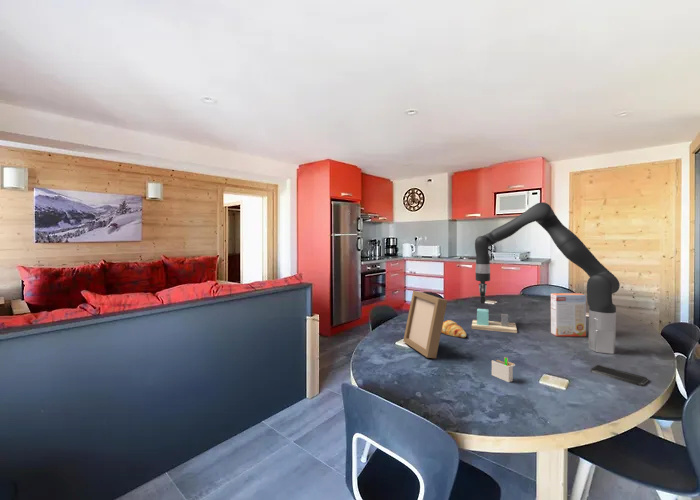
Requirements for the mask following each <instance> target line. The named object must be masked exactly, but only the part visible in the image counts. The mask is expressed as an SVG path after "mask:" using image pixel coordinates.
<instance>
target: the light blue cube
mask: <svg viewBox="0 0 700 500" xmlns="http://www.w3.org/2000/svg"><path fill="white" fill-rule="evenodd" d="M489 312H490V311H489V309H488V308H477V309H476V320H477V325H488V324H489V321H490V320H489V319H490V318H489V316H490V315H489V314H490V313H489Z"/></svg>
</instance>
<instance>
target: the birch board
mask: <svg viewBox="0 0 700 500" xmlns="http://www.w3.org/2000/svg"><path fill="white" fill-rule="evenodd" d="M471 330H479V331H480V330H481V331H490V332H491V331H493V332H502V333H514V334H517V333H518V329H517V325H516V323H515V322H508V327H507V326H501V321H493V320H492V321H491V320H489V324H488V325H477V319H472V322H471Z"/></svg>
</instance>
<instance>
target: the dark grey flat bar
mask: <svg viewBox="0 0 700 500" xmlns="http://www.w3.org/2000/svg"><path fill="white" fill-rule="evenodd" d="M590 372H591V373H594V374H597V375H600V376H602V377H603V376H605V377H608V378H610V379H614V380H617V381H621V382H623V383H624V382H625V383H628V384H631V385H635V386H639V387H643V386H645V385H646V384H647V383H648V382H649V380H650V379H649V378H648V377H646V376H643V375H638V374H635V373H631V372H627V371H624V370H620V369H616V368H612V367H608V366H606V365H605V366H604V365H600V364H596V365H595V366H593V367H591V368H590Z"/></svg>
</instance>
